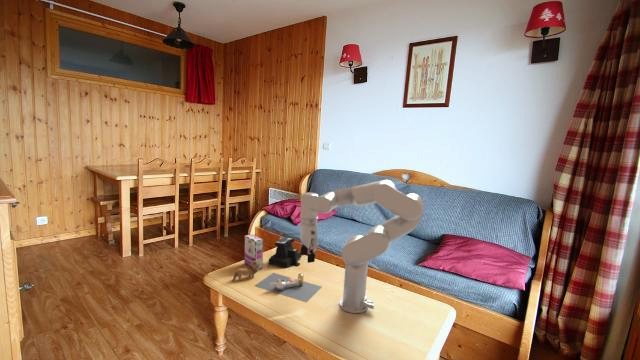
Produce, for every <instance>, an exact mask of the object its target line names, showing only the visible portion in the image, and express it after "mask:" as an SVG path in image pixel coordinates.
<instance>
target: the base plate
mask: <svg viewBox="0 0 640 360" xmlns="http://www.w3.org/2000/svg"><path fill="white" fill-rule="evenodd" d="M277 279H280V280H285V281H286V283H289V282H295V281H298V278H297V279H296V278H292V277H290V276H286V275H283V274H279V273H275V272H272V273H271V274H269V275H268V276H266V277H264V278H263V279H262V280H261V281H259V282H258V283H256V284H254V287H256V288H259V289H263V290H266V291H269V292H273V293H275V294H279V295H281V296H285V297H287V298H290V299H291V298H292V299H293V300H294V299H295V300H298V301H301V302H304V303H307V302H309V301H310V299H312V297H314V295H316V294H317V293H318V291H320V290H321V289H322V288H323V286H322V285H319V284H314V283H311V282H307V281H304V280H303V286H293V287H287V288H286V289H285V290H283V291H277V290H275V285H274V286H269V283H272V282H275V281H277Z"/></svg>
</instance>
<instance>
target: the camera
mask: <svg viewBox="0 0 640 360" xmlns="http://www.w3.org/2000/svg"><path fill="white" fill-rule="evenodd" d="M295 241H296V240H295V239H293V238H291V237H288V236H281V237H279V240H277V241H275V243H274V246H277V247H276V250H275V253H274V254H273V255H271V257H270V258H268V265H271V266H277V267H283V268H288V267H290V266H295V267H298V266H300V265H301V263H300V262H298V260H300V259H302V255H301V251H300V252H299V251H298V248H294V247H293V244H292V243H294V242H295Z"/></svg>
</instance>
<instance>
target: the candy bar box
mask: <svg viewBox="0 0 640 360" xmlns="http://www.w3.org/2000/svg"><path fill="white" fill-rule="evenodd" d="M263 253H264V239H263V238H261V237H260V236H257V235H254V234H252V233H250V234H248V235H247V234H246V235H244V265H245V266H247V267H249V266H250V265H251V264H252V262H253V261H259V269H258V270H262V269H263V265H264V264H263V261H264V260H263V257H264V254H263Z"/></svg>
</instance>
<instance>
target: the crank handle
mask: <svg viewBox="0 0 640 360" xmlns="http://www.w3.org/2000/svg"><path fill="white" fill-rule="evenodd" d="M304 276H305V275H304V273H298V274H297V280H298V281H295V282H289V283H286V281H285V280H280V279H277V281H275V282H272V283H269V286H274V285H275V290H277V291H283V290H285V289H286V288H287V287H293V286H303V281H304Z"/></svg>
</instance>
